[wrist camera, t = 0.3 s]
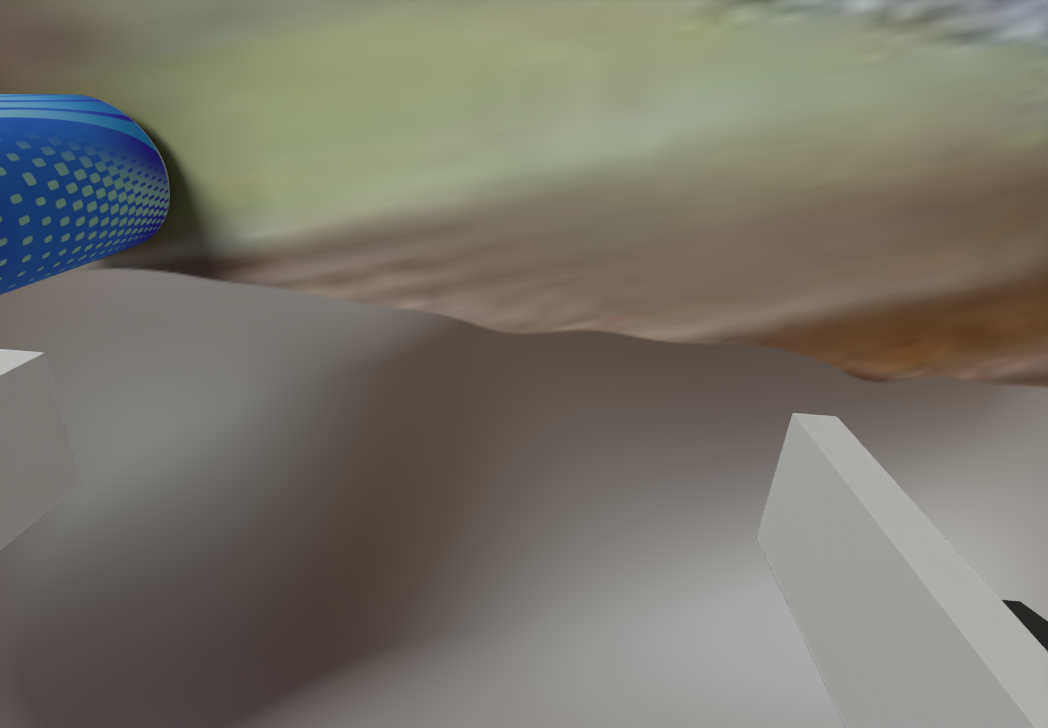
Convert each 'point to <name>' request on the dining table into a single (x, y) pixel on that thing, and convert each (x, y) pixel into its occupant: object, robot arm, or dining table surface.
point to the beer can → (73, 185)
